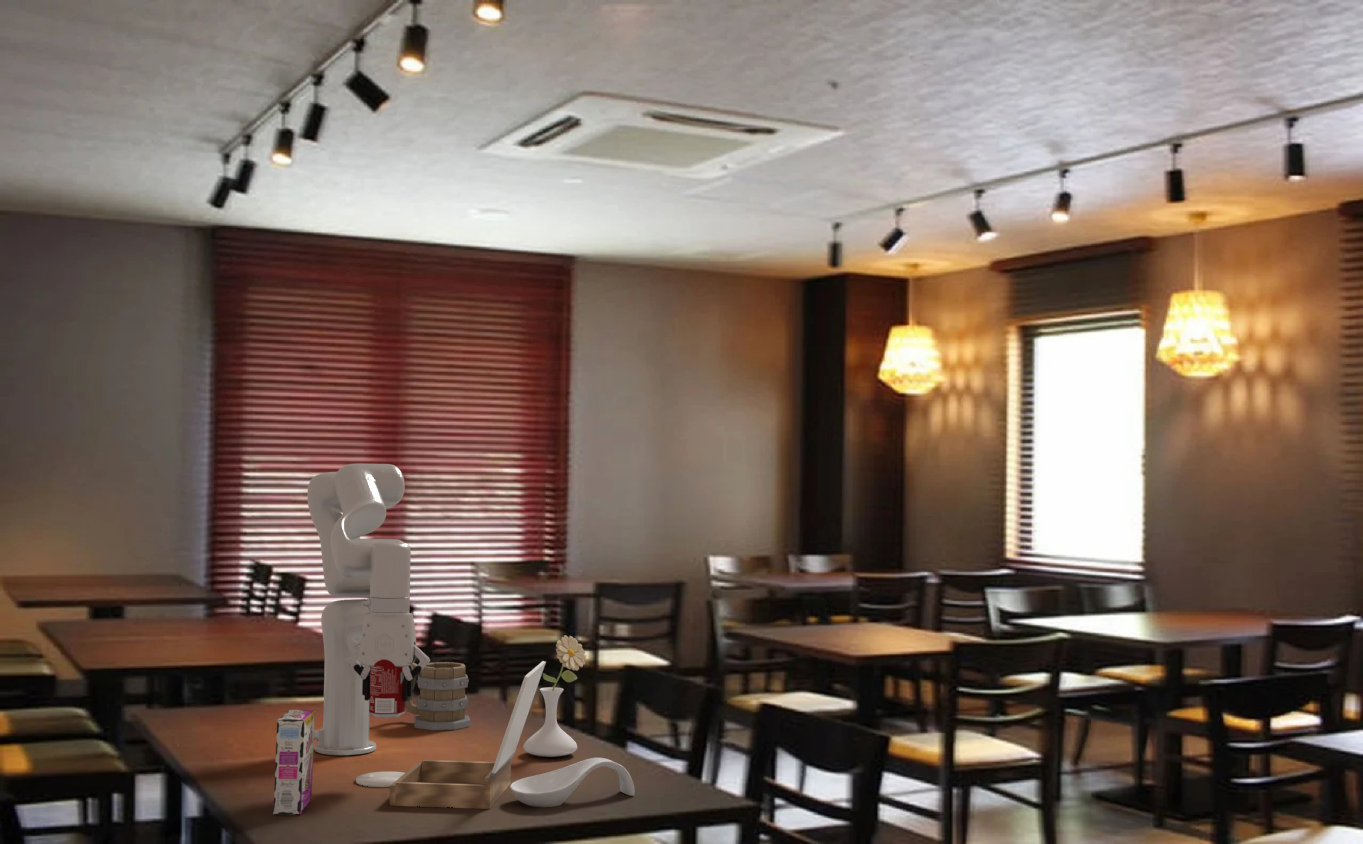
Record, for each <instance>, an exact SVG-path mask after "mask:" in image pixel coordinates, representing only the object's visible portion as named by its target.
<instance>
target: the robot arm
mask: <svg viewBox="0 0 1363 844" xmlns="http://www.w3.org/2000/svg"><path fill="white" fill-rule="evenodd" d="M405 486H406V485H405V478H404V475H403V472H402V471H401V470H400V469H399V468H398V466H396V465H394V464H391V463H349V464H346V465H344V466H341V467H340V468H339V469H338V470H337V471H329V472H323V473H319V474H316V475H314V476H313V477H311V479H310V481H309V482H308V486H307V506H308V511H309V515H310V518H311V521H312V522H313V526H314V527H315V529H316V532H317V536H318V538H319V543H320V552H321V559H322V561H321V562H322V563H321V564H322V570H323V579H324V580H323V581H324V586H325V589H326V592H328V594H329V595H331V596H333V597H336V598H356V599H339V600H335V601H332V602H330V603H328V604H327V605H325V607H324V608H323V609H322V612H321V615H320V616H321V619H320V620H321V621H320V624H321V632H322V641H323V651H324V653H323V654H324V668H323V669H324V674H323V675H324V681H323V683H324V684H323V718H322V719H323V720H322V727H321V728H319V729H317V730H316V729H314V741H317V743H316V744H314V751H315V752H316V753H318V754H321V755H327V756H353V755H354V756H355V755H356V756H357V755H363V754H368V753H372V752H374V751H376V750H377V743H376V742H375V741H373V740H370V715H371V714H370V713H369V697H370V666H374V664H375V663H376V662H378V661H379V660H383V659H386V660H389V661H391V662H392V663H393V664H394V666H396V667H402V670H403V673H404V675H405V680H404V681H403V701H405V702H407V701H408V700H410V697H412V698H413V696H414V689H413V679H414V678H415V677H416V678H417V677H418V675H420V674H421V673H420V672H421V671H422V670H423V668H424V667H425V666H426V665H427V664H428V663H431V659H430V657H429V656H428V655H427V654H426V653H425V652H423V651H422V650H421V649H420V648H419V647H418V646H417V635H416V626H415V625H416V624H415V620H414V614H413V613H412V612H411V613H410V607H411V606H410V604H411V603H410V601H411V599H410V598H411V597H410V596H411V560H412V559H411V557H412V552H411V546H410V545H409V544H408V543H406V542H404V541H403V540H400V539H396V538H395V539H394V538H361V537H364V536H365V535H368V534H370V533H372V532H374V531H375V530H377V529H378V528H380V527H381V526H382V525H383V524H384V522H385V520H386V517H387V510H388V509H390V508H392V507H394V506H396V505H397V504H399V503H400V502H401V500H403V497H404V494H405V491H406V490H405V488H406V487H405ZM357 598H361V599H357ZM383 655H386V656H383ZM416 659H418V660H419V663H418V664H417V666H416V667H415V668H414V669H413V668H412V665H411V664H412V663H415V662H416Z"/></svg>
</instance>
